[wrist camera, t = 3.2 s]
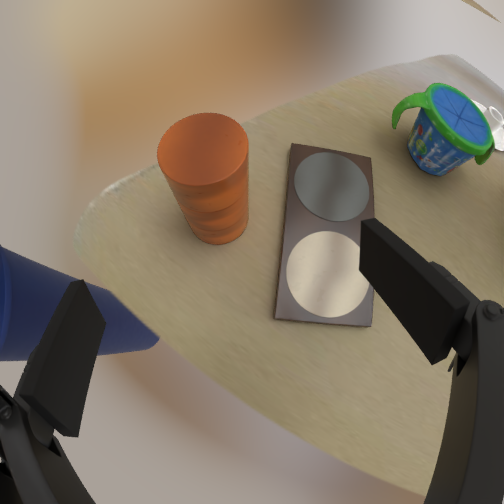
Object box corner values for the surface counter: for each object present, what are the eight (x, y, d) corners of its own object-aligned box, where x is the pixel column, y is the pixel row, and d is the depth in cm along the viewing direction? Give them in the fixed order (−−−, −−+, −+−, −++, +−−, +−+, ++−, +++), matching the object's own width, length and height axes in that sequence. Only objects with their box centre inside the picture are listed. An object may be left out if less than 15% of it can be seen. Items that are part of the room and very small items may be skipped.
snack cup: (376, 162, 34) (410, 112, 24) (382, 109, 36) (406, 61, 26) (468, 205, 32) (512, 173, 23) (464, 151, 35) (498, 115, 25)
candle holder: (459, 93, 39) (469, 79, 35) (500, 122, 38) (511, 111, 34) (465, 131, 36) (477, 117, 32) (509, 163, 35) (522, 152, 31)
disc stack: (184, 240, 30) (146, 182, 18) (195, 187, 32) (170, 111, 20) (244, 248, 30) (241, 190, 18) (252, 193, 32) (254, 115, 20)
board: (273, 318, 28) (274, 318, 27) (290, 148, 34) (291, 142, 32) (367, 327, 28) (372, 326, 27) (367, 162, 33) (371, 156, 32)
